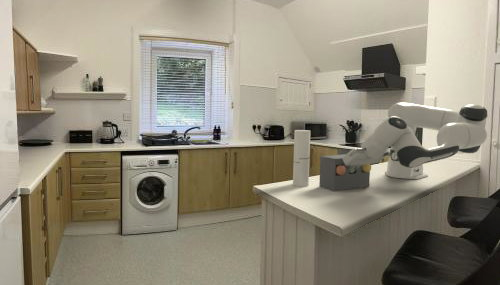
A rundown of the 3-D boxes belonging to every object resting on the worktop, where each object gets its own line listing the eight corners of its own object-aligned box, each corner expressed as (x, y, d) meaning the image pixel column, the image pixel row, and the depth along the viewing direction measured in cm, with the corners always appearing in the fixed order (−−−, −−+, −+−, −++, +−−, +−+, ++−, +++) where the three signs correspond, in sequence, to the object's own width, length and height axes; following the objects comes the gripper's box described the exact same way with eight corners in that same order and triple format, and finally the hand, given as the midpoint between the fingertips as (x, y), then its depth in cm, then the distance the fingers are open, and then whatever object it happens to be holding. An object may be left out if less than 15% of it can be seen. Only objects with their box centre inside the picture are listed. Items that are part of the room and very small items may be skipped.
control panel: (354, 182, 163) (355, 153, 162) (369, 186, 155) (370, 155, 154) (319, 187, 152) (320, 156, 151) (333, 191, 144) (335, 158, 143)
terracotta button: (340, 173, 147) (340, 164, 147) (345, 174, 145) (345, 165, 144) (333, 174, 145) (333, 165, 145) (338, 175, 143) (339, 166, 142)
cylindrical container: (308, 187, 151) (310, 131, 149) (292, 186, 153) (293, 130, 150) (308, 183, 158) (310, 130, 156) (293, 182, 160) (295, 129, 157)
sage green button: (350, 171, 153) (350, 162, 153) (355, 172, 150) (355, 163, 150) (343, 172, 151) (344, 163, 151) (349, 173, 148) (349, 164, 148)
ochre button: (365, 170, 156) (365, 162, 155) (371, 171, 153) (371, 163, 152) (359, 171, 154) (359, 162, 153) (364, 172, 151) (365, 163, 150)
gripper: (359, 155, 132) (339, 175, 141) (392, 153, 143) (372, 172, 152) (351, 142, 136) (332, 163, 145) (384, 141, 146) (365, 160, 155)
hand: (353, 167), depth 148 cm, fingers closed, pressing on sage green button
